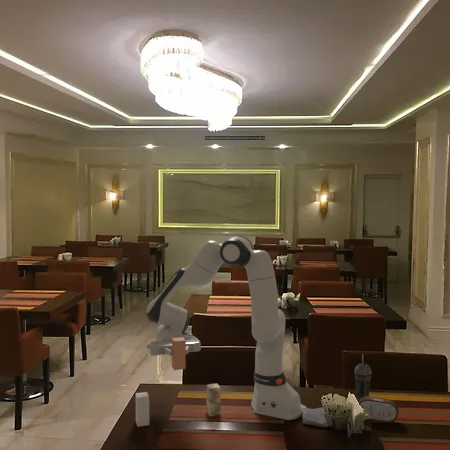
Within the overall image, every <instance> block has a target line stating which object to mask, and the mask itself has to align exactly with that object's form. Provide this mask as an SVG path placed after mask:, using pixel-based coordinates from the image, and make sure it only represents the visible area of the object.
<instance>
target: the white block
mask: <svg viewBox="0 0 450 450" xmlns="http://www.w3.org/2000/svg"><path fill="white" fill-rule="evenodd" d="M135 424H136V426H137V427H138V428H139V427H145V426H150V396H149V393H148V392H147V391H145V392H144V391H143V392H136V393H135Z"/></svg>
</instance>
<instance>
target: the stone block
mask: <svg viewBox="0 0 450 450" xmlns="http://www.w3.org/2000/svg"><path fill="white" fill-rule="evenodd" d="M300 417H301V419H302V424H305V425H308V426H309V425H310V426H316V427H321V428H323V427H324V428H329V427H328V426H327V422H326V420H325V417H324V414H323V407H318V408H309V407H306V408H304V409H302V411H301V416H300Z"/></svg>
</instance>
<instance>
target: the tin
mask: <svg viewBox="0 0 450 450" xmlns="http://www.w3.org/2000/svg"><path fill="white" fill-rule="evenodd" d="M357 402H358V403H359V405H360V406H361V407H362V408H363V409H365V410H366V411H367V413H368V414H369V416H370V417H371V419H372V421H378V422H385V423H392V422H394V421H395V420H396V419H397V418H398V416H399V412H400V411H399V410H400V409H399V407H398V404H397V403H396V402H395V401H394V400H392V399H390V398H382V397H375V396H371V395H369V396H366V397H363V398H361V399H360V400H359V401H357ZM358 403H357V404H358Z"/></svg>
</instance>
